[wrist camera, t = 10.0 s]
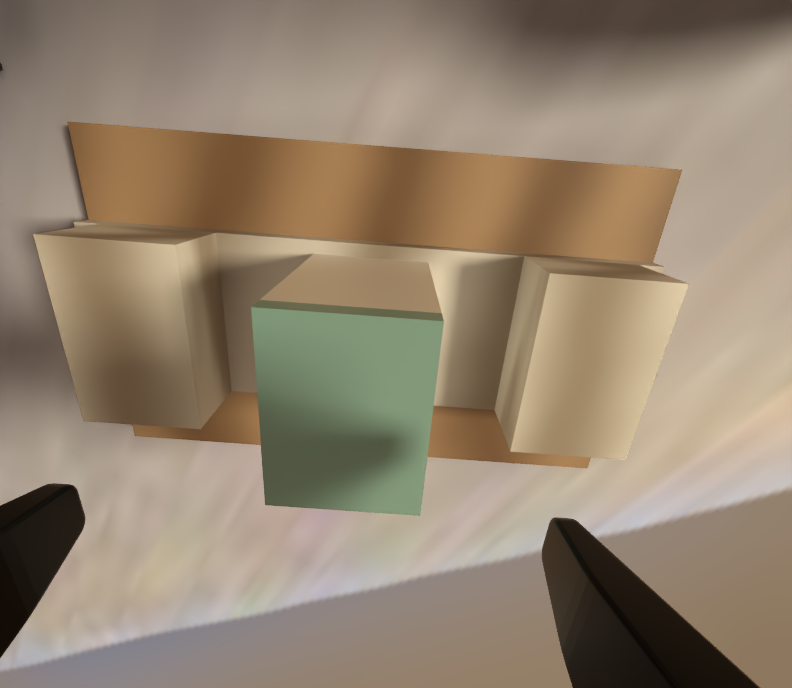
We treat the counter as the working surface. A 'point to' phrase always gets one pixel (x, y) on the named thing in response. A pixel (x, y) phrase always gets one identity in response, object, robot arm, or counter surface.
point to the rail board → (371, 238)
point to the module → (347, 383)
